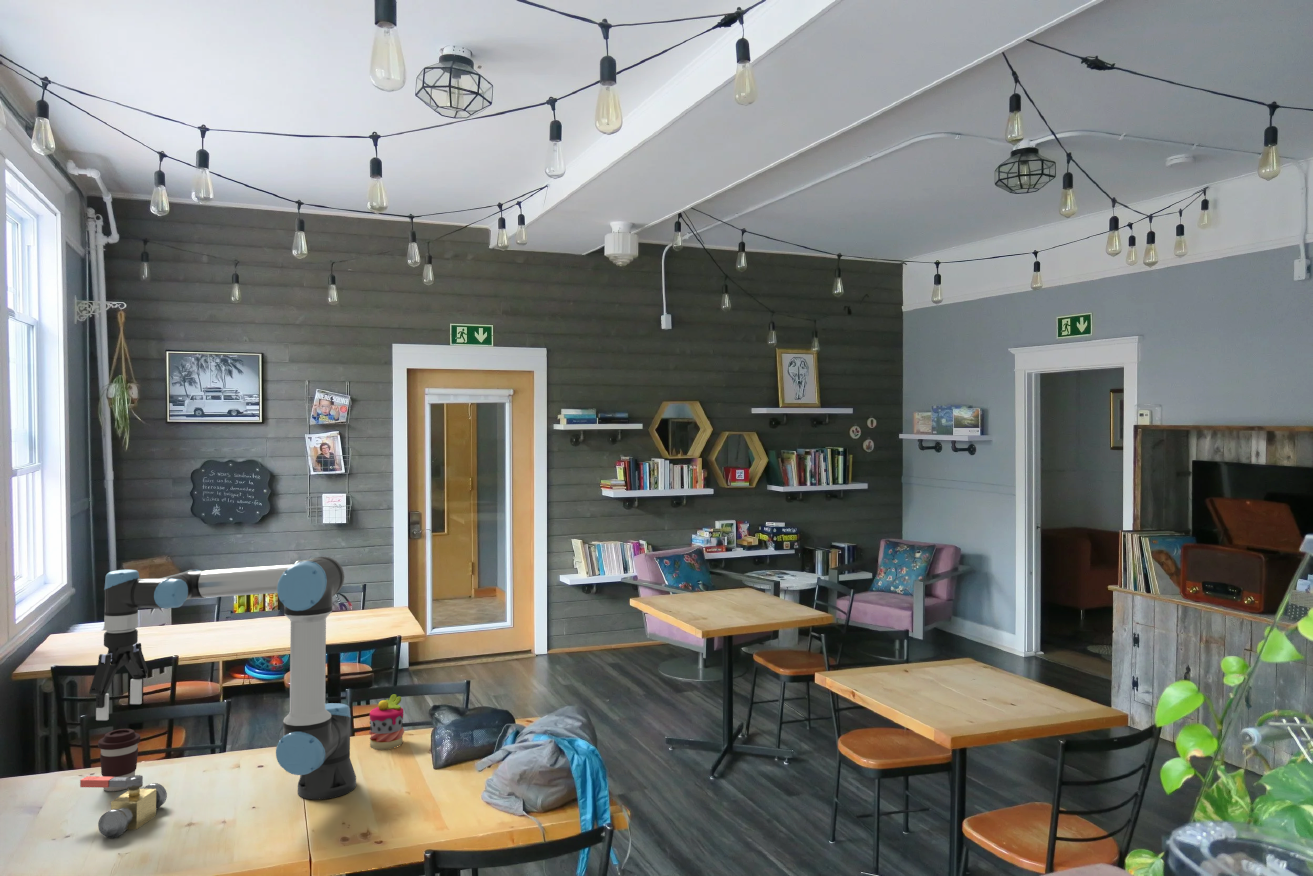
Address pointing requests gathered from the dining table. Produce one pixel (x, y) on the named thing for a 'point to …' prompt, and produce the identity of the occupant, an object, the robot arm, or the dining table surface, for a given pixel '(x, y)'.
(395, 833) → the dining table surface
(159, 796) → the valve
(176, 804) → the dining table surface
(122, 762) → the coffee cup
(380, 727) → the cake
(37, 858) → the dining table surface
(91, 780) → the lever
